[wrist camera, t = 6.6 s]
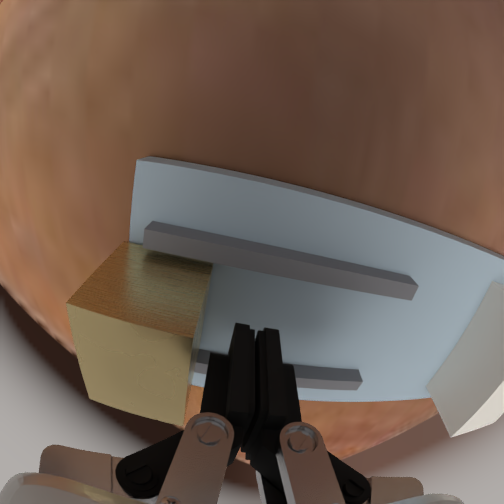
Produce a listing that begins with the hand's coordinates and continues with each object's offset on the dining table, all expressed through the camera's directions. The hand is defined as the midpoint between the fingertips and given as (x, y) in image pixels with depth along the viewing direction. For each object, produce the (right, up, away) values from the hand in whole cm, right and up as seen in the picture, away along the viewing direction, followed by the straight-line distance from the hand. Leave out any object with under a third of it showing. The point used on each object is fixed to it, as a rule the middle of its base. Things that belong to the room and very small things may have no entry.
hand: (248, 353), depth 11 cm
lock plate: (+7, 0, +4) cm, 8 cm away
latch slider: (-4, +2, +2) cm, 5 cm away
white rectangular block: (+17, -2, +4) cm, 17 cm away
